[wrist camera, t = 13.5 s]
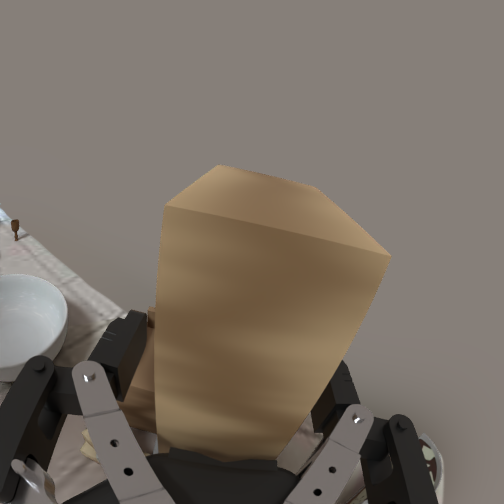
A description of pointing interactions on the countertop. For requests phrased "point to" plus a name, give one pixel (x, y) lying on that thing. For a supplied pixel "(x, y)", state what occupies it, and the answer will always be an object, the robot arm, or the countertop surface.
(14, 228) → the place setting
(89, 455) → the pine offcut
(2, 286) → the serving bowl
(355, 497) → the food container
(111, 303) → the countertop surface
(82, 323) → the countertop surface
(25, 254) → the countertop surface
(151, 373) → the walnut rack
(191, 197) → the oak board
